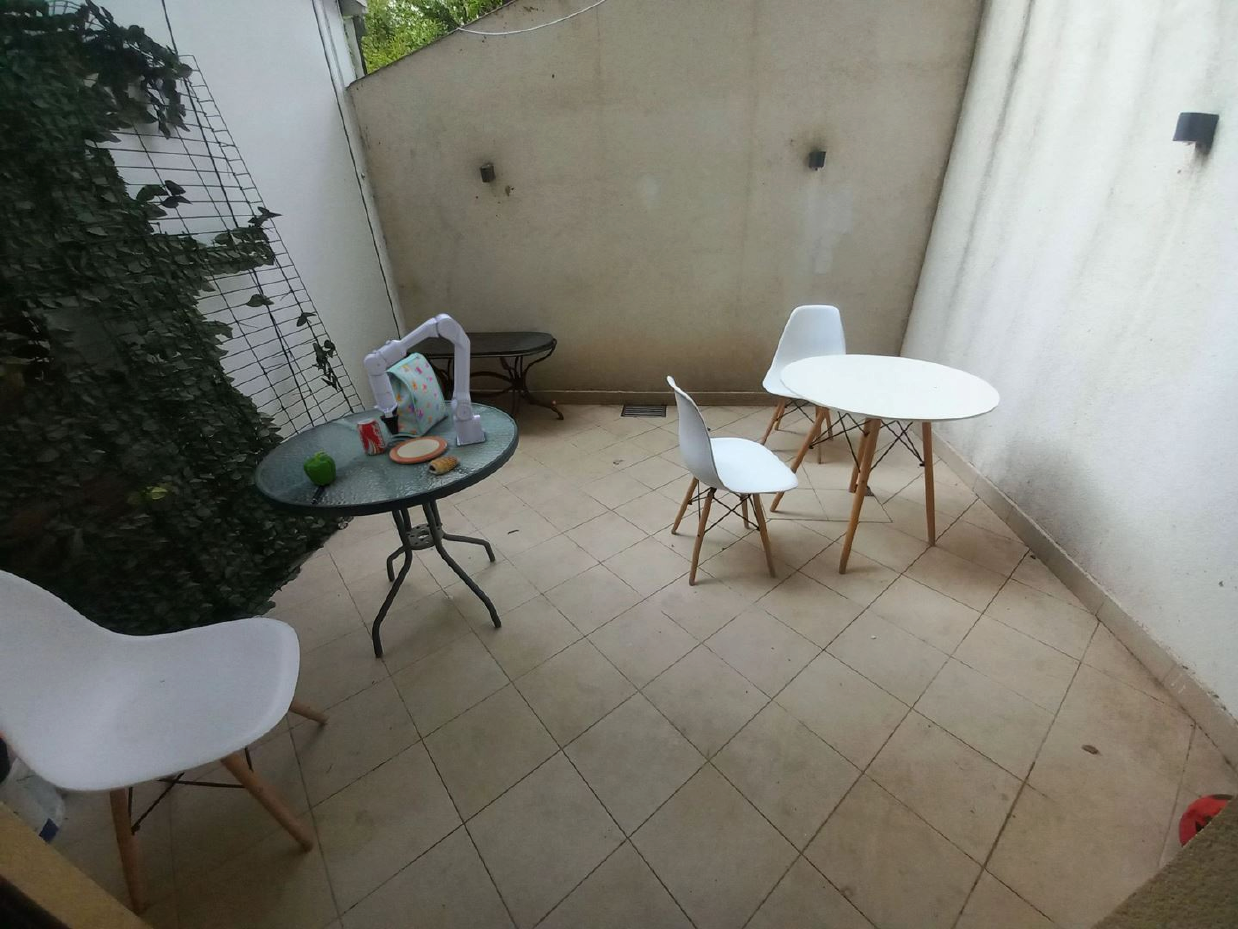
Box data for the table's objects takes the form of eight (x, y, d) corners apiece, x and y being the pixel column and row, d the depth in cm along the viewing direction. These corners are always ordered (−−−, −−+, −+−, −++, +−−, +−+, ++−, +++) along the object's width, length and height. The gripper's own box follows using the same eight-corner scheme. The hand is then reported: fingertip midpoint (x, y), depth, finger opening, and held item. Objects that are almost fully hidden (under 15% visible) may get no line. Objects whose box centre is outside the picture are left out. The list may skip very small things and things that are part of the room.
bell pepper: (309, 490, 147) (296, 462, 142) (312, 478, 154) (300, 451, 149) (339, 484, 150) (328, 456, 145) (341, 472, 157) (330, 445, 152)
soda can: (379, 456, 166) (368, 424, 160) (361, 456, 167) (350, 424, 161) (390, 447, 172) (381, 416, 166) (373, 446, 173) (362, 416, 167)
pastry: (450, 459, 161) (447, 449, 159) (463, 464, 157) (460, 454, 155) (426, 472, 154) (423, 461, 152) (439, 477, 151) (436, 466, 149)
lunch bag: (415, 414, 198) (397, 350, 185) (452, 415, 196) (436, 350, 183) (384, 439, 178) (361, 369, 165) (425, 439, 176) (405, 369, 163)
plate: (447, 436, 177) (446, 432, 177) (447, 458, 161) (446, 454, 161) (393, 445, 173) (392, 441, 172) (387, 469, 157) (386, 465, 156)
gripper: (369, 387, 158) (382, 424, 165) (369, 401, 147) (382, 440, 153) (392, 383, 161) (403, 420, 167) (393, 396, 149) (405, 435, 156)
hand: (395, 430), depth 160 cm, fingers open, 7 cm apart
